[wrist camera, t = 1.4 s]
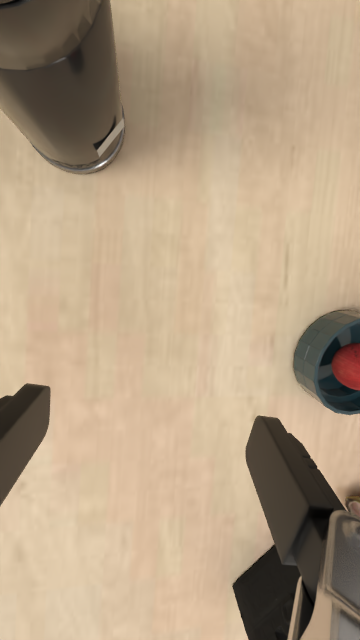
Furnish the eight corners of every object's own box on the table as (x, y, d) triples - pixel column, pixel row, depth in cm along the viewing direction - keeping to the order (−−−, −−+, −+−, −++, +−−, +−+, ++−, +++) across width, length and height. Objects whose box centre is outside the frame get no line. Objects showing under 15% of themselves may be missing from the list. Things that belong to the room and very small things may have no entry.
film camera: (280, 606, 46) (317, 696, 36) (224, 596, 43) (249, 692, 33) (331, 531, 44) (386, 607, 34) (276, 516, 41) (318, 594, 31)
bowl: (295, 314, 33) (318, 322, 29) (381, 306, 35) (415, 312, 30) (290, 402, 36) (310, 421, 32) (369, 390, 38) (399, 407, 33)
